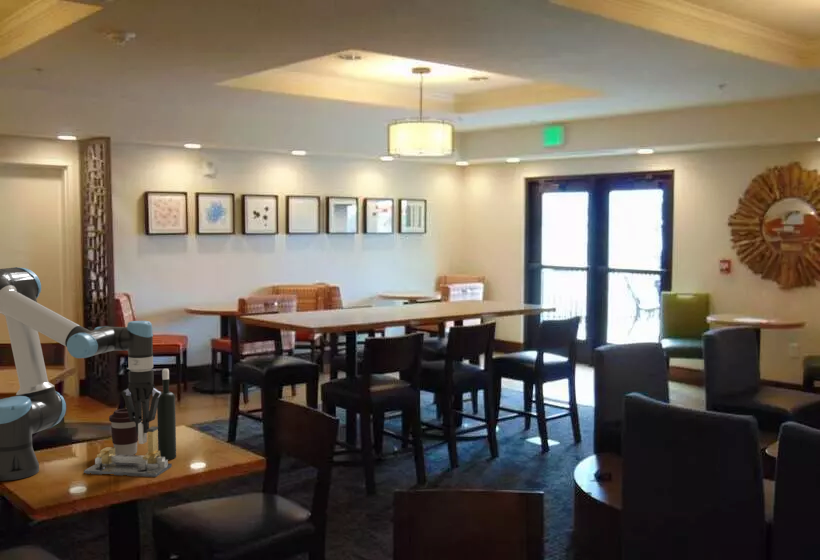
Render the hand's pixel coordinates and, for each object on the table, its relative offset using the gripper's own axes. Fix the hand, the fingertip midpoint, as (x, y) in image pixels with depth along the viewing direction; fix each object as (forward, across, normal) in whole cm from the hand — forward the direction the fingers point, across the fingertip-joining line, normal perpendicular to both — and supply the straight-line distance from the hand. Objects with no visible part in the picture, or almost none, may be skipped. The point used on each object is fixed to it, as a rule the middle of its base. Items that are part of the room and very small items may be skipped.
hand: (142, 442), depth 256 cm
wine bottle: (+9, +2, +13) cm, 16 cm away
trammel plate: (+9, -4, -2) cm, 10 cm away
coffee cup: (+9, -14, +15) cm, 22 cm away
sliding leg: (+7, +3, -2) cm, 8 cm away
